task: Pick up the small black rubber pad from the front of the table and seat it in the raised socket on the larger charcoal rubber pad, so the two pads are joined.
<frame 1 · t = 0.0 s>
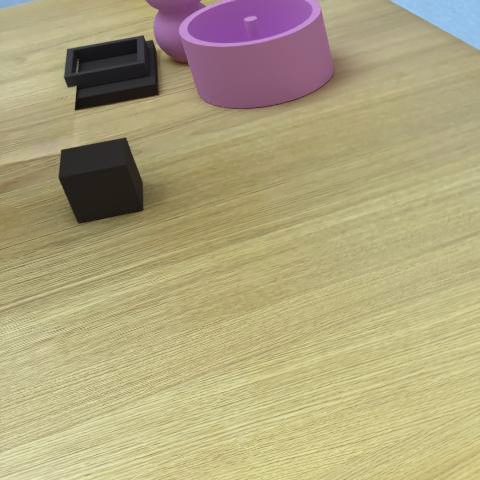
base pad: (113, 79, 121), on the table
container set: (239, 71, 120), on the table
black pad: (111, 202, 100), on the table
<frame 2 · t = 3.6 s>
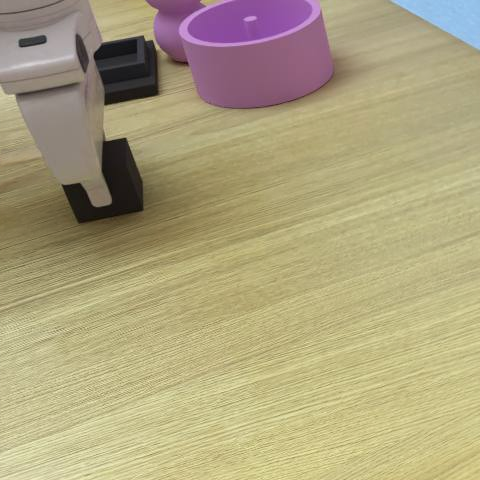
hand: (104, 185, 98), 2 cm above the table, tool pointing down, fingers closed on black pad, 6 cm apart
black pad: (111, 202, 100), on the table, touching gripper
everything else where it was.
when the fingers open (3 cm above the table, at t = 11.0 s): black pad stays where it is, resting on base pad.
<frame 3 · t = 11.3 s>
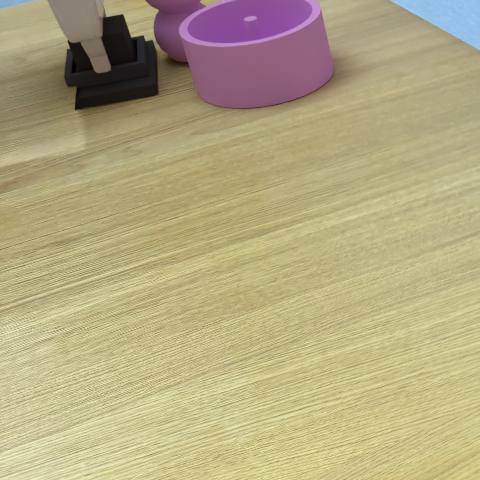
hand: (104, 54, 119), 3 cm above the table, tool pointing down, fingers open, 8 cm apart
black pad: (110, 68, 120), point 1 cm above the table, touching base pad
everything else where it was.
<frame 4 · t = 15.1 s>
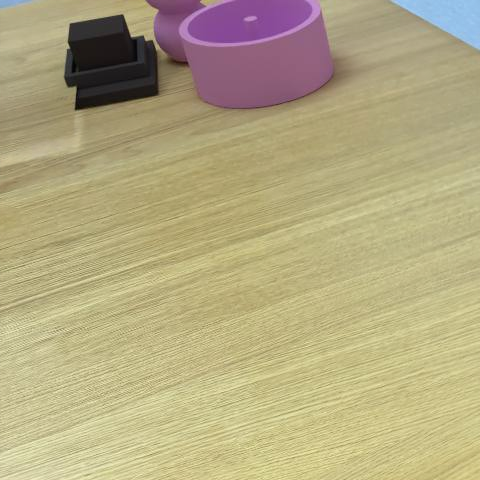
nothing on the table moved.
at the end: black pad 0.1 cm off-centre on the base pad, point 1.2 cm above the base pad's base; black pad tilted 0°; the gripper is holding nothing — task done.
